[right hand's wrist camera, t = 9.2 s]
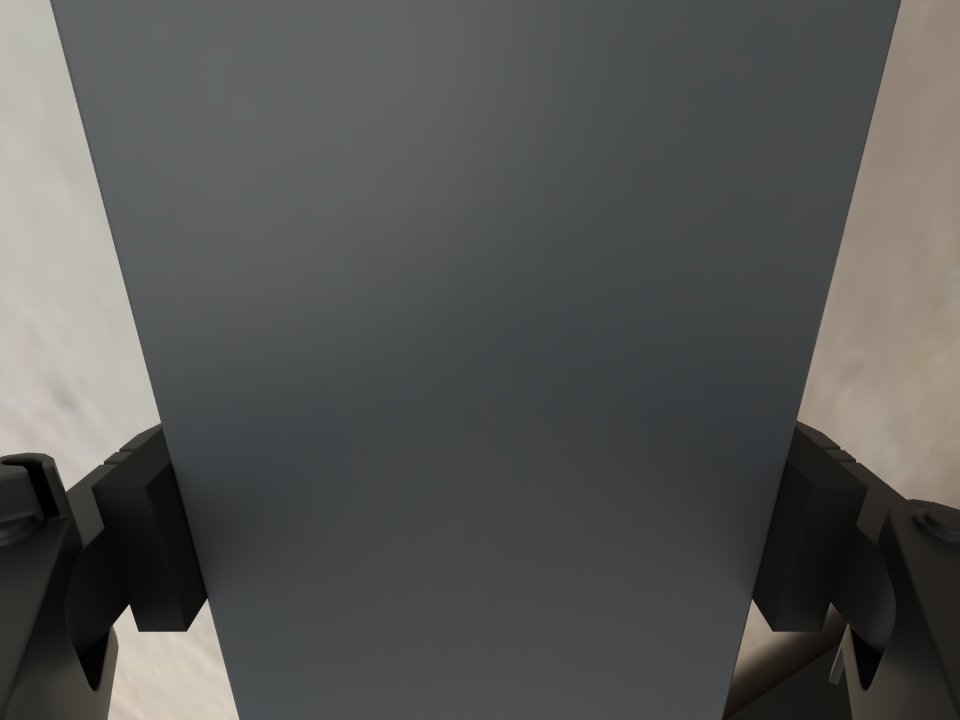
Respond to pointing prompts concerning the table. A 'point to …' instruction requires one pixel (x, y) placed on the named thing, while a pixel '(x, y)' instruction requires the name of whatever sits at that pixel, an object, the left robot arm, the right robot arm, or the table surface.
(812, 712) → the dark grey storage case
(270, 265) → the thick board
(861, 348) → the table surface
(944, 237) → the table surface
